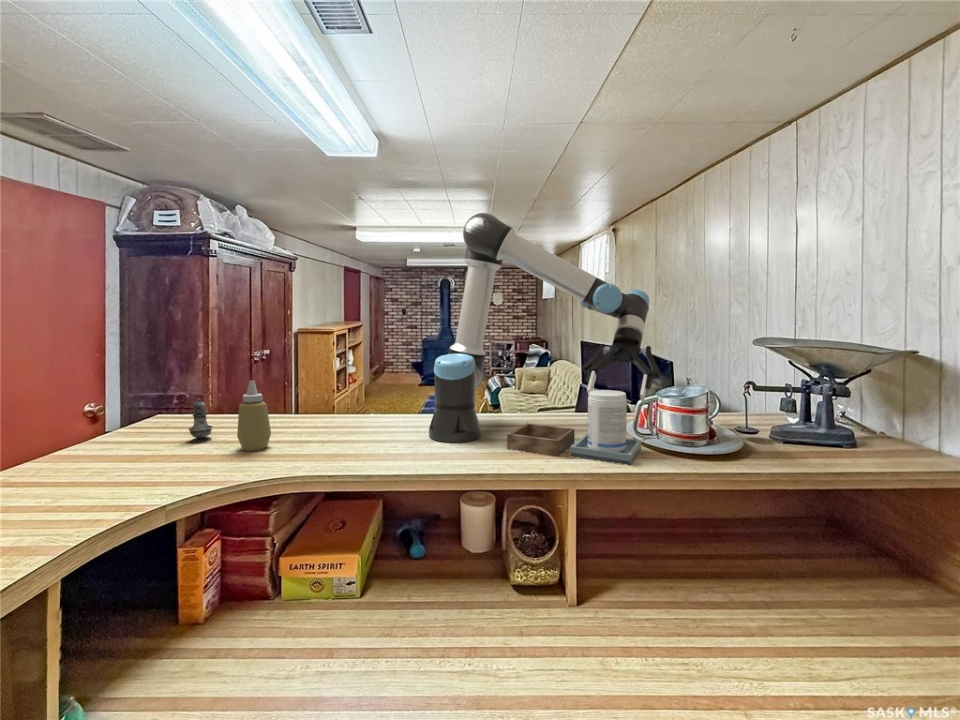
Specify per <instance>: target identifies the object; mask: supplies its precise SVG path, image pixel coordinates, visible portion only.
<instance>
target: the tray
mask: <svg viewBox="0 0 960 720" xmlns="http://www.w3.org/2000/svg"><path fill="white" fill-rule="evenodd" d="M641 450H642V440H641V439H633V438H626V448H625V450H624V451H622V452H611V451H604V450H597V449H590V448H589V447H588V433H586V434H584V435H582V436H581V438H579V439H578V440H577V441H575V442H574V444H573V445H572V446H570V457H571V458H572V457H573V458H577V457H579V458H578V459H584V458H585V459H584V460H591V459H593V460H592V461H597V460H600V461H599V462H604V461H606V463H611V462H614V463H613V464H617V463H621V464H620V465H624V464H627V465H626V466H632V464H633V463H634V462H635V459H636V458H637V457H638V455H639V454H640V452H641Z"/></svg>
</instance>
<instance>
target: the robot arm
mask: <svg viewBox="0 0 960 720" xmlns="http://www.w3.org/2000/svg"><path fill="white" fill-rule="evenodd" d="M462 238H463V241H464V243H465V246H466V250H465V255H464V262H465V263H466V265H467V272H466V280H465V285H464V290H463V295H462V296H463V297H462V301H461V307H460V313H459V319H458V325H457V326H458V327H457V331H456V336H455V337H456V338H455V342H454V343H453V344H452V345H451V346H449V348H448V354H444V355H443V354H442V355H440V356H438V357H436V359H435V361H434V366H433V374H434V411H433V415H432V418H431V422H430V424H429V427H428V437H429V438H430V439H431V440H433V441H437V442H442V443H443V442H444V443H465V442H470V441H475V440H478V439H479V438H481V436H482V427H481V424H480V422H479V417H478V415H477V412H476V389H477V388H478V387H480V385H481V383H482V381H483V380H484V377H485V360H486V355H487V353H486V351H485V350H484V349H483V345H484V339H485V335H486V328H487V322H488V315H489V311H490V304H491V301H492V300H491V299H492V294H493V289H494V288H493V287H494V283H495V278H496V274H497V273H496V272H497V271H498V270H500V269H501V268H502V265H503V261H506V262H508V263H510V264H512V265H513V266H515V267H517V268H519V269H520V270H522V271H525V272H526V273H528V274H530V275H531V276H532V275H533V276H534V277H536V278H537V279H540V280H542V281H543V282H545V283H547V284H549V285H551V286H552V287H555V288H557V289H558V290H560V291H562V292H564V293H565V294H568V295H569V296H572V297H573V298H575V299H577V300H579V301H580V306H581V307H583V308H585V309H588V310H590V311H594V312H597V313H600V314H603V315H605V316H610V317H612V318H615V319H618V321H617V325H616V328H615V332H614V333H615V334H614V336H613V337H614V338H613V340H612V344H611V346H605V344H604V343H601V344H600V345H599V347H598V350H597V351H596V352H594V353H593V355H591V357H590V358H589V359H588V360H587V361H586V362H585V363H584V364H583V365H582V370H583V373H584V374H585V375H586V374H587V375H586V377H585V380H586V385H587V388H586V393H587V395H588V397H589V392H590V391H594V387H595V383H596V379H597V374H598V373H599V372H601V371H602V370H604V369H606V367H608V366H610V365H613V364H615V363H616V362H617V363H630V362H631V363H632V364H634V366H636V367H637V368H638V369H639V371H640V372H641V373H642V374H643V378H642V383H641V388H640V391H639V392H640V394H639V397H640V401H641V402H645V399H646V394H647V393H646V392H647V390H651V388H652V384H653V380H654V379H656V380H659V379H661V371H660V368H659V367H658V366H659V365H658V364H657V362H656V360H655V358H654V356H653V354H652V346H651V345H647V346H646V347H643V348H641V346H642V341H643V336H644V332H645V327H646V320H647V318H648V317H647V316H648V312H649V309H650V298H649V295H648V294H647V293H646V292H645V291H643V290H640V289H630V290H629V291H627V292H626V293H624V292H622V290H621V289H620V288H619V286H617V285H615V284H613V283H609V282H607V281H604V280H602V279H601V278H598V277H597V276H596V275H593V274H591V273H590V272H588V271H586V270H584V269H582V268H580V267H578V266H577V265H575V264H572V263H571V262H569V261H567V260H566V259H563V258H561V257H559V256H557V255H556V254H554V253H552V252H550V251H548V250H547V249H545V248H544V247H541V246H539V245H537V244H535V243H533V242H531V241H529V240H528V239H526V238H524V237H522V236H521V235H518V234H517V233H516V231H515V228H513V227H512V226H510V225H508V224H507V223H505V222H504V221H503V222H502V221H501V220H500V219H499V218H498V217H496V216H495V215H493V214H491V213H487V212H479V213H475V214H473V215H472V216H471V217H470V218H468V220H467V221H466V222H465V224H464V226H463V232H462ZM641 354H643V356H644V357H645V358H646V359H647V363H648V364H649V367H650V368H651V369H650V368H649V367H648V366H647V365H646V363H645V362H644V361H643V359H641V358H640V357H639V356H640V355H641Z"/></svg>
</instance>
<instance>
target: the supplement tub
mask: <svg viewBox="0 0 960 720" xmlns="http://www.w3.org/2000/svg"><path fill="white" fill-rule="evenodd" d="M627 401H628V400H627V394H626V392H624V391H621V390H613V389H612V390H611V389H598V390H597V389H596V390H595V389H594V390H593V391H590V392H589V396H588V397H587V434H588V447H589V448H590V449H597V450H604V451H611V452H622V451H624V450H625V448H626V439H627V413H628V412H627V407H628V405H627V404H628V402H627Z"/></svg>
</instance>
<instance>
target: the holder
mask: <svg viewBox="0 0 960 720" xmlns="http://www.w3.org/2000/svg"><path fill="white" fill-rule="evenodd" d="M575 433H576V432H575V428H570V427H561V426H555V425H554V426H553V425H545V424H539V423H528V422H527V423H525V424H523V425H522V426H520V427H518V428H516V429H514V430H512V431H510V432H509V433H507V434H506V435H507V436H506V438H507V439H506V450H510V449H512V450H511V451H516V450H518V451H519V452H523V451H525V453H530V452H531V454H536V453H538V455H545V456H551V457H556V456H557V457H560V456H561V455H562V454H563V453H565V450H566V449H567V450H568V449H569V448H571V445H572V444H575V435H576V434H575ZM567 450H566V451H567ZM559 455H560V456H559ZM557 457H556V458H557Z"/></svg>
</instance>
